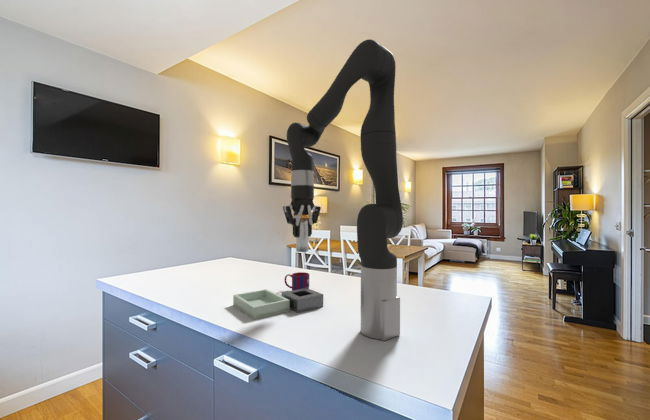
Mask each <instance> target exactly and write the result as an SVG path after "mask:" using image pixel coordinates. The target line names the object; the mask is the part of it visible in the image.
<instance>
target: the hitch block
mask: <svg viewBox="0 0 650 420" xmlns="http://www.w3.org/2000/svg"><path fill="white" fill-rule="evenodd" d="M280 296H282V297H284V298H286V299H289V300H290V311H293V312H295V313H297V314H298V313H302V312H307V311H311V310H314V309H315V310H316V309H319V308H323V307H324V293H321V292H319V291H315V290H314V289H313V290H312V289H310V288H309V289H308V288H303V289H298V290H293V291H292V290H287V291H282V292H281V294H280Z"/></svg>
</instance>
